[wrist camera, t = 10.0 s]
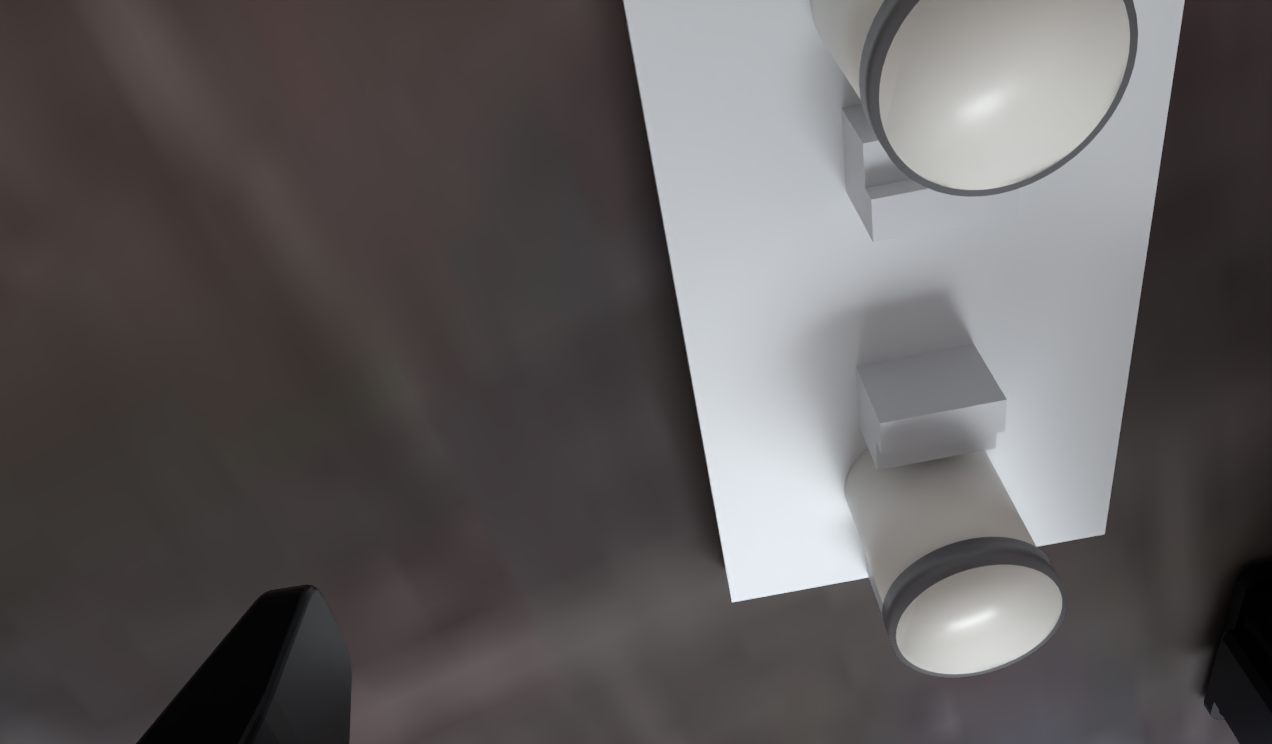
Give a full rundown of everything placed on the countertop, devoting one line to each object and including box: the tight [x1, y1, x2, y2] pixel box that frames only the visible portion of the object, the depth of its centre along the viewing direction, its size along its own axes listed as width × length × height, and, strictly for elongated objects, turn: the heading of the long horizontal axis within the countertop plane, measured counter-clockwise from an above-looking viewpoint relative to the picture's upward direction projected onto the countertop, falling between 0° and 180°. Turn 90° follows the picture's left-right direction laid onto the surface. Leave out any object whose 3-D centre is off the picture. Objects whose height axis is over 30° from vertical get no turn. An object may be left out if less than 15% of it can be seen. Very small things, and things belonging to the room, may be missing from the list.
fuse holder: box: [623, 0, 1185, 677], centre depth 19 cm, size 9×17×5 cm, turn 10°
